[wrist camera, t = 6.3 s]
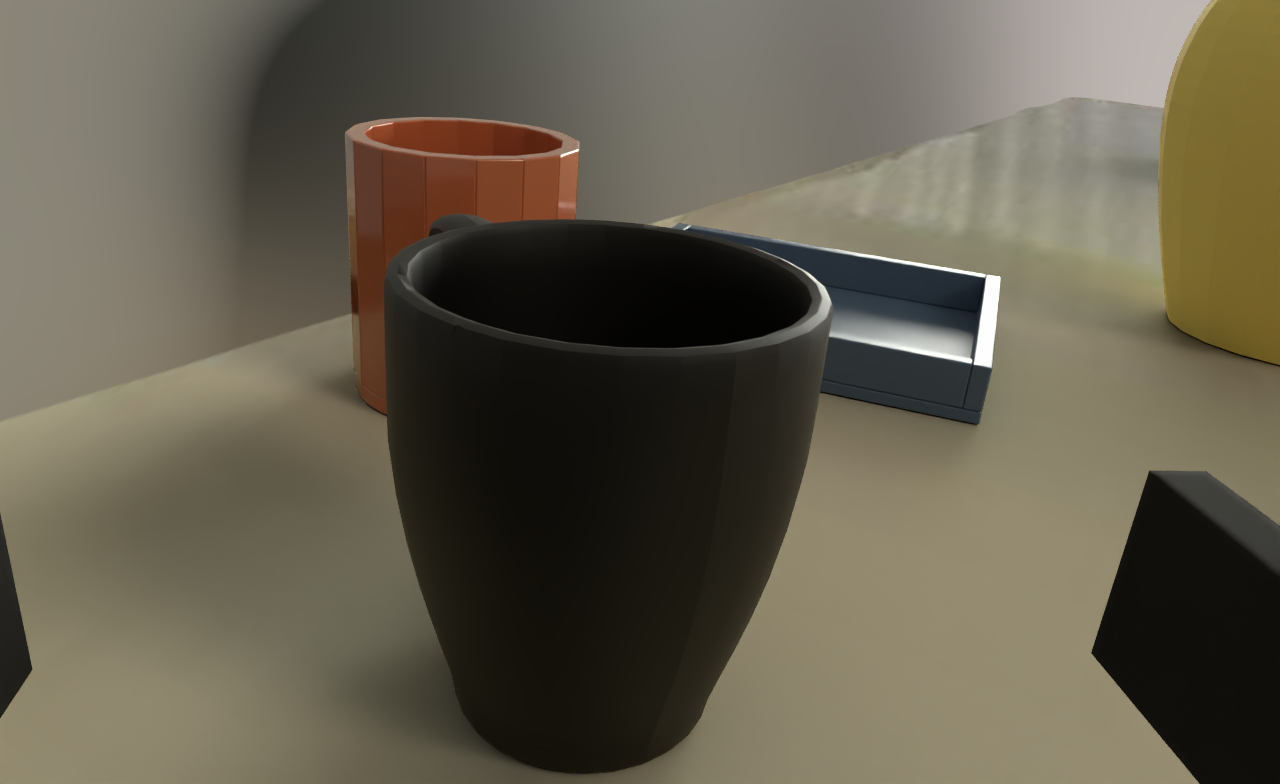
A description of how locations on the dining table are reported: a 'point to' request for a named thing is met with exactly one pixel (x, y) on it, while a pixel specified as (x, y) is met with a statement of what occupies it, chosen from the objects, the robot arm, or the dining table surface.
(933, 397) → the tray
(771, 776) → the dining table surface
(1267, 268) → the vase
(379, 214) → the terracotta cup
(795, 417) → the mug
